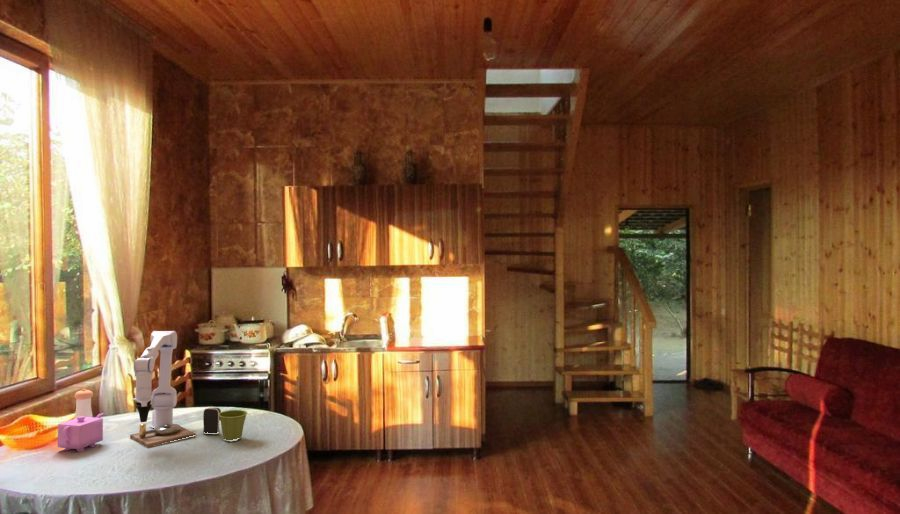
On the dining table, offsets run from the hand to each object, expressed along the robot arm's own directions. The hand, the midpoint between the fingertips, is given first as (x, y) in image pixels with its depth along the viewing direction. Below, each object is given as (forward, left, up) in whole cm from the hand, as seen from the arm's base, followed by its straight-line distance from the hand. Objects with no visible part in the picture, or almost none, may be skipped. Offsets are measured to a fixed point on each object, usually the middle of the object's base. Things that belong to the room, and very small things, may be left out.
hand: (143, 420), depth 243 cm
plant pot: (+19, +29, -11) cm, 36 cm away
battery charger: (+5, +27, -11) cm, 30 cm away
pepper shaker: (-37, -11, -11) cm, 40 cm away
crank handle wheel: (-6, +9, -9) cm, 14 cm away
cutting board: (-5, +10, -10) cm, 15 cm away
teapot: (-16, -17, -11) cm, 26 cm away
